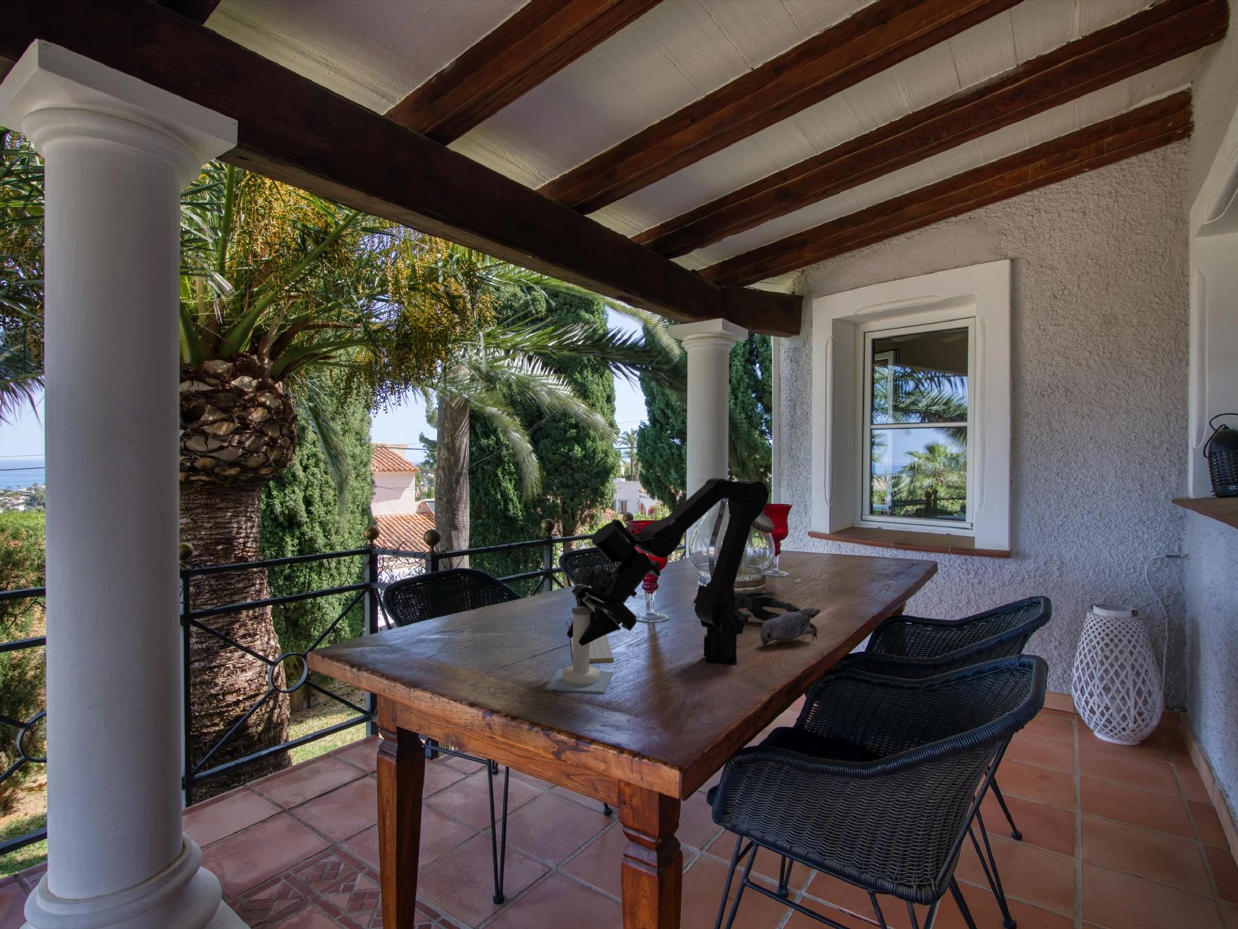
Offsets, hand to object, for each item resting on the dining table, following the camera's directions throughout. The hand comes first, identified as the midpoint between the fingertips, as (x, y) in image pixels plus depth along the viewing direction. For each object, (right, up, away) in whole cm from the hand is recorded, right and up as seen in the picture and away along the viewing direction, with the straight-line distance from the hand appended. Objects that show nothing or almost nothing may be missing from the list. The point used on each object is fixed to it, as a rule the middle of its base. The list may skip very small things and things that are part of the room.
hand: (574, 640), depth 125 cm
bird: (+48, -9, +29) cm, 57 cm away
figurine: (+46, -8, +49) cm, 68 cm away
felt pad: (+1, -8, +1) cm, 8 cm away
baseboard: (+1, -9, +28) cm, 29 cm away
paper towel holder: (+1, -8, +1) cm, 8 cm away
